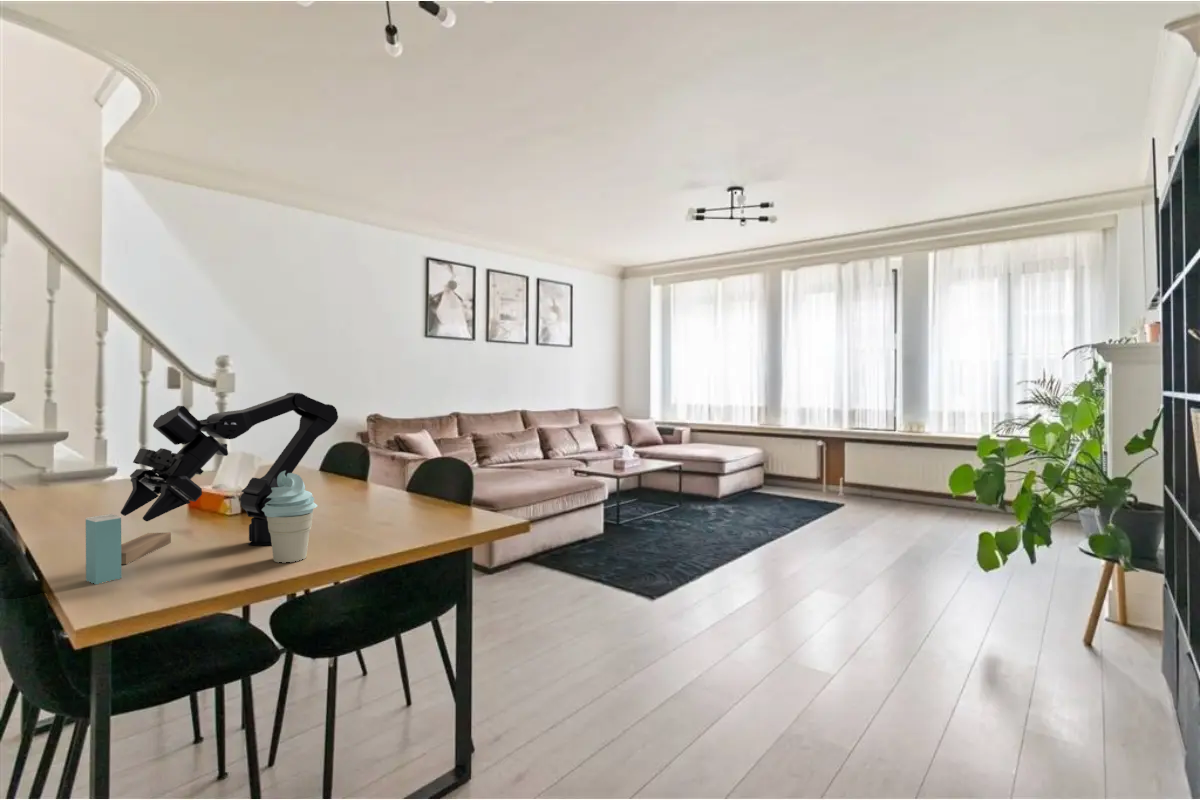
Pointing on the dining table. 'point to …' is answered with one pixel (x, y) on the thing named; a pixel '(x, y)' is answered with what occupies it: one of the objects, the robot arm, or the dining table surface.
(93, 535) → the teal block
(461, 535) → the dining table surface
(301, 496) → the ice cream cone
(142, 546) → the walnut strip
